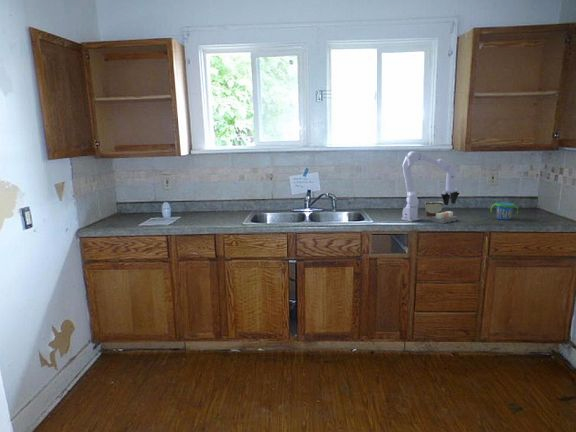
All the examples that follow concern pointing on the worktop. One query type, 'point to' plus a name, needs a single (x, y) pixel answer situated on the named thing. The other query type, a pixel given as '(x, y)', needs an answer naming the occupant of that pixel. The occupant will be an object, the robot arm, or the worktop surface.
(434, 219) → the key console
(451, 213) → the key cream
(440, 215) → the key sage
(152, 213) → the worktop surface
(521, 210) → the worktop surface
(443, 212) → the key terracotta
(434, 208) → the half round cake
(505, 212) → the snack cup
